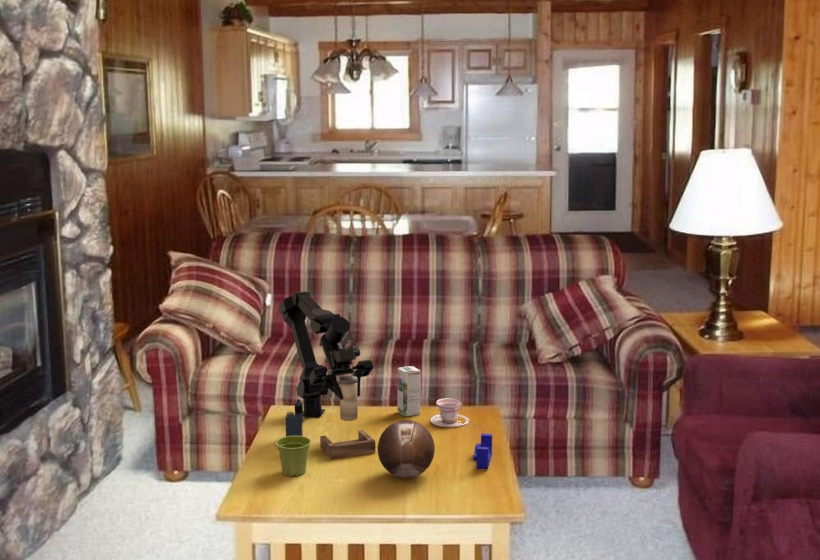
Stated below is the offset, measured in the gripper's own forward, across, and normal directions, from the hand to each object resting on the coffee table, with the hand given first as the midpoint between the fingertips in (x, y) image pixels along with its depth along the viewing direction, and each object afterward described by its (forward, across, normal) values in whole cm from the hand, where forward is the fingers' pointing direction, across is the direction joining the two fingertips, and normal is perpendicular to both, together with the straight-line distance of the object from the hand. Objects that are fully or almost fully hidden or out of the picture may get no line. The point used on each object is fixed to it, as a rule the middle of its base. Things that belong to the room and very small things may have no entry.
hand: (350, 397), depth 289 cm
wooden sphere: (+31, +1, -13) cm, 33 cm away
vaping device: (+3, -14, +17) cm, 22 cm away
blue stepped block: (+32, +24, -13) cm, 42 cm away
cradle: (+14, -4, +5) cm, 15 cm away
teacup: (+9, +34, +10) cm, 36 cm away
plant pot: (+19, -23, 0) cm, 30 cm away
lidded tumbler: (+4, 0, +6) cm, 7 cm away
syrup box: (0, +27, +20) cm, 33 cm away
